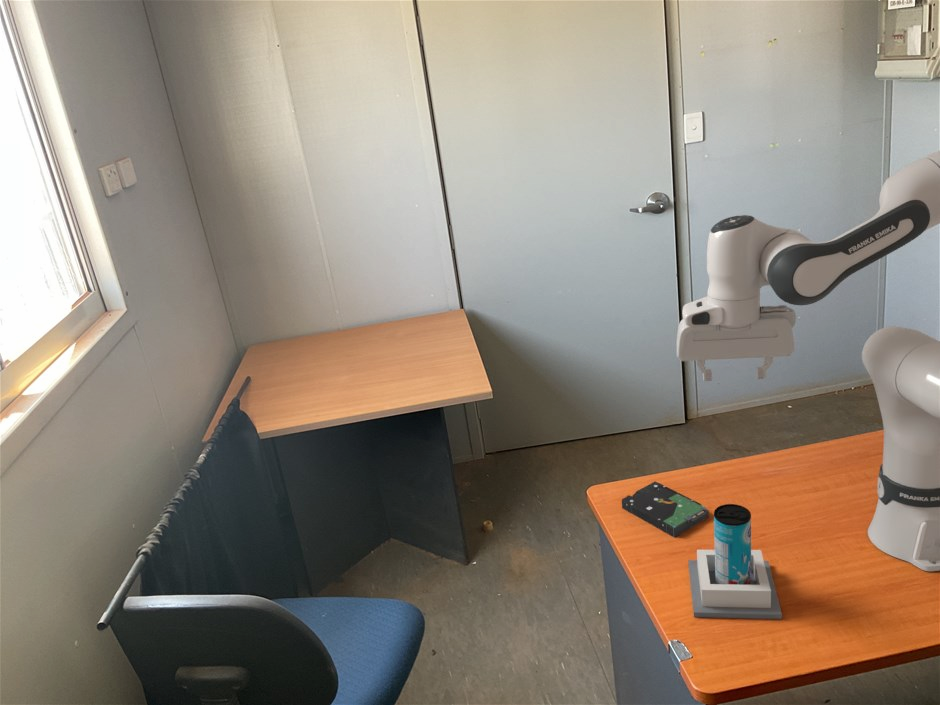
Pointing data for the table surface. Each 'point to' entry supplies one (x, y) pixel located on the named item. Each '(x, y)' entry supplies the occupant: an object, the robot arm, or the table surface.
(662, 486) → the disk drive
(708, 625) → the table surface
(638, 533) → the table surface
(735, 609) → the can holder
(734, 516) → the beverage can
